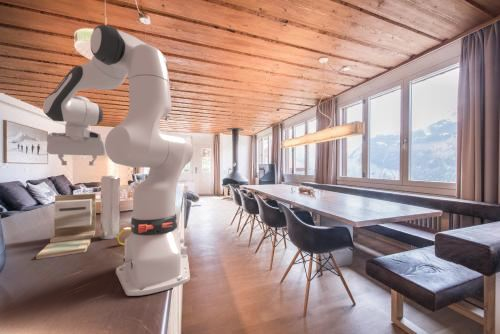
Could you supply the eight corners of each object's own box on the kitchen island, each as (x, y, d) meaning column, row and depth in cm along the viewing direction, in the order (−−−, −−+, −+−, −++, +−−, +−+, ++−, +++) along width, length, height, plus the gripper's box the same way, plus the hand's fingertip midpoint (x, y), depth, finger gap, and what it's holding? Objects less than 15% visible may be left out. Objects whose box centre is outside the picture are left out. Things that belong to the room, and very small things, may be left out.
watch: (134, 242, 81) (136, 226, 82) (136, 244, 79) (137, 228, 80) (116, 244, 78) (117, 228, 78) (117, 246, 76) (119, 229, 76)
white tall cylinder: (110, 239, 83) (110, 175, 83) (96, 238, 84) (96, 175, 85) (123, 234, 89) (123, 175, 90) (110, 233, 91) (110, 175, 91)
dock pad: (85, 251, 71) (85, 248, 71) (36, 259, 65) (36, 255, 65) (90, 241, 81) (90, 237, 81) (48, 246, 75) (49, 243, 75)
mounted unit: (93, 237, 86) (93, 195, 86) (50, 242, 80) (50, 197, 80) (95, 232, 93) (95, 193, 93) (56, 237, 86) (56, 195, 86)
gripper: (44, 130, 86) (43, 165, 86) (105, 134, 96) (105, 165, 96) (49, 133, 92) (48, 165, 91) (106, 136, 102) (106, 165, 102)
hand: (78, 165), depth 94 cm, fingers open, 8 cm apart
